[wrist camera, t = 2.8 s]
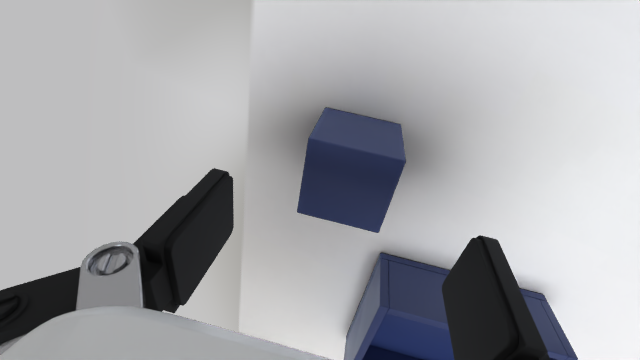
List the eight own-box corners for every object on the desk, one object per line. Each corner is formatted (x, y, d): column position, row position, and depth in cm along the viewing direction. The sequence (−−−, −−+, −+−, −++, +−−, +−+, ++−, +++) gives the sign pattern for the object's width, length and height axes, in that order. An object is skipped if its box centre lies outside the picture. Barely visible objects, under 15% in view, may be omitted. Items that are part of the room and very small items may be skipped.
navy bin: (346, 335, 29) (340, 387, 25) (380, 252, 22) (379, 305, 18) (469, 369, 28) (482, 428, 24) (543, 294, 21) (579, 359, 17)
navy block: (313, 171, 19) (296, 212, 16) (325, 106, 17) (308, 137, 13) (379, 187, 19) (378, 233, 15) (401, 124, 16) (406, 160, 13)
